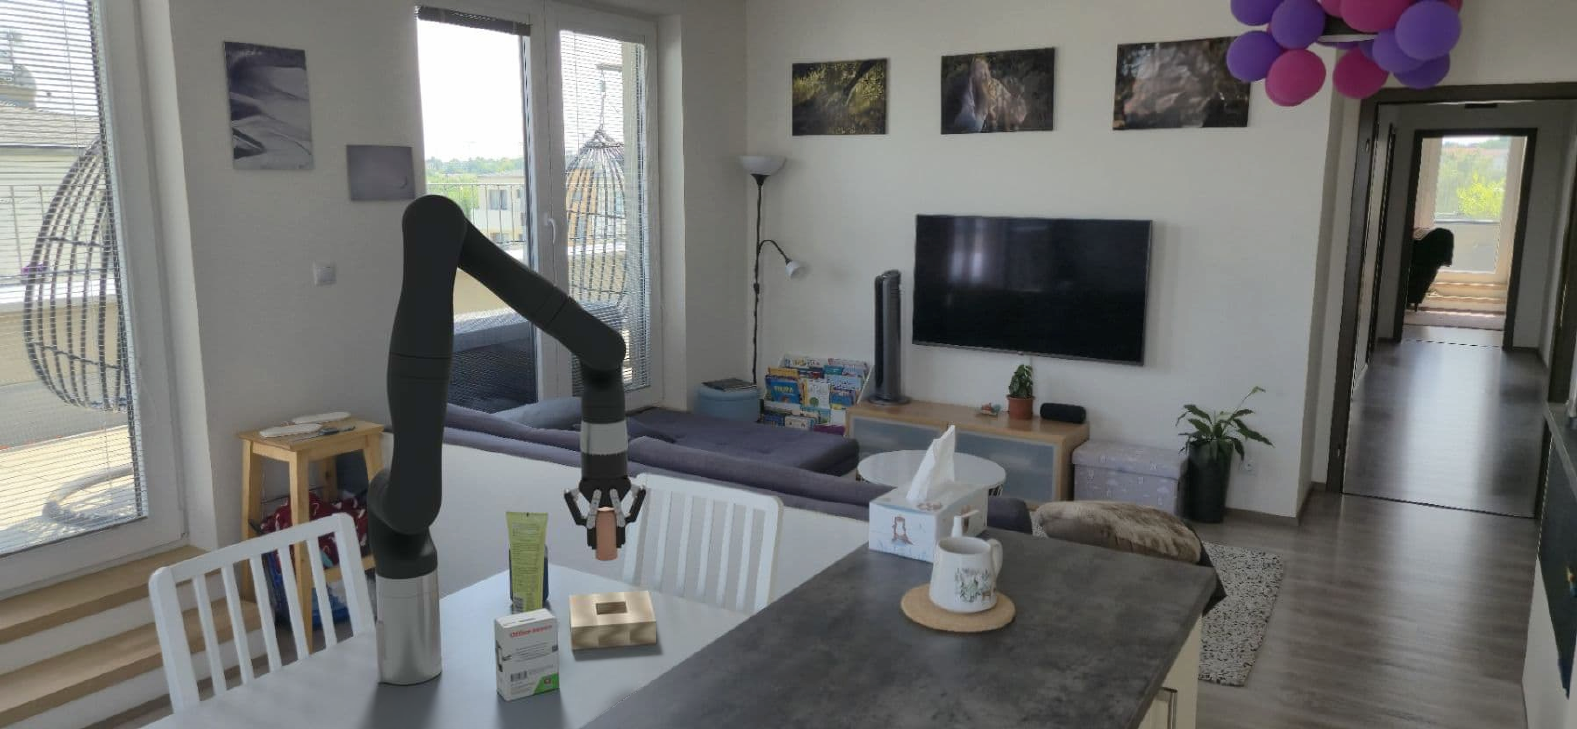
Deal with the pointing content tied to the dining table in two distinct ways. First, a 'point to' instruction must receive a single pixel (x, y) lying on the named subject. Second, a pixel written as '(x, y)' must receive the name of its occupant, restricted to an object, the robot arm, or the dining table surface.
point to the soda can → (545, 577)
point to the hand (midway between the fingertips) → (606, 547)
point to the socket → (611, 620)
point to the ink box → (526, 654)
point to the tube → (527, 558)
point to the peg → (606, 534)
